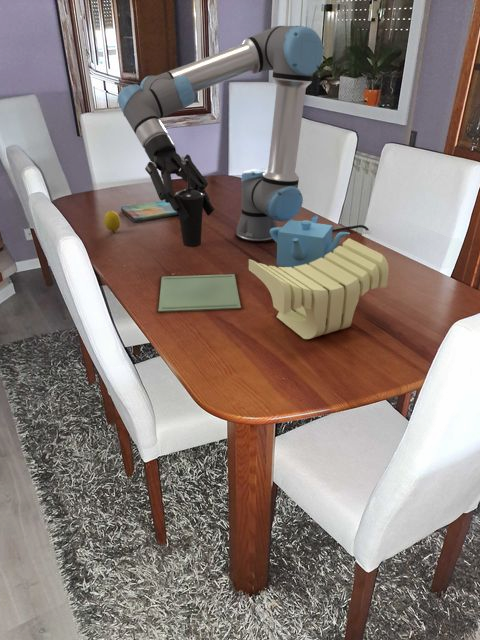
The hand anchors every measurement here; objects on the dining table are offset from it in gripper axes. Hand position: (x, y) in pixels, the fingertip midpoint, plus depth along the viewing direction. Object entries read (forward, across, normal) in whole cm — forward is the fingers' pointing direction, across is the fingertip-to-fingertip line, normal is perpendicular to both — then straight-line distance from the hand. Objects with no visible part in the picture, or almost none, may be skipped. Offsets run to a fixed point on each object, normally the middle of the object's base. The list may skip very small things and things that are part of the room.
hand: (199, 216), depth 137 cm
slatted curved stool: (+40, -9, +8) cm, 41 cm away
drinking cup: (+4, 0, -9) cm, 9 cm away
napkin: (+15, 0, -17) cm, 22 cm away
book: (-33, -35, -65) cm, 81 cm away
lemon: (-27, -10, -59) cm, 66 cm away
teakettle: (+22, -36, -10) cm, 43 cm away
